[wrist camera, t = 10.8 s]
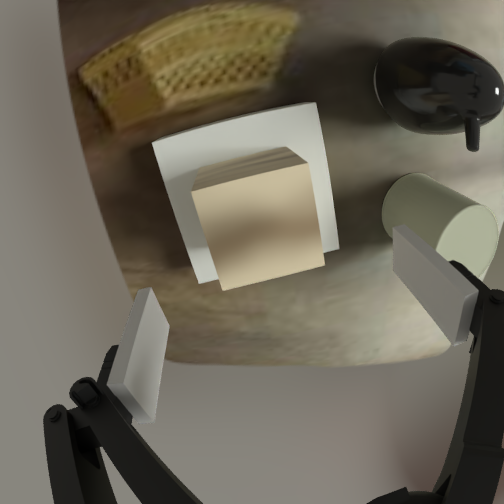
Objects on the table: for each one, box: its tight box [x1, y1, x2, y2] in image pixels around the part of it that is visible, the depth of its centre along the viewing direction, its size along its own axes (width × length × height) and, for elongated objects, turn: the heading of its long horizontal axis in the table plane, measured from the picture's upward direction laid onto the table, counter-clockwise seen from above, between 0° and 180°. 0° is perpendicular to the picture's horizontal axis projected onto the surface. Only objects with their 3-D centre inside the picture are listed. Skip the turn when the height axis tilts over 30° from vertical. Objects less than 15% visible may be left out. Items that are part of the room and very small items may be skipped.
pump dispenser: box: [374, 37, 504, 152], centre depth 23 cm, size 10×10×15 cm
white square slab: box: [152, 102, 339, 284], centre depth 32 cm, size 15×15×4 cm
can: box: [382, 173, 499, 278], centre depth 31 cm, size 9×9×12 cm
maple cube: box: [191, 146, 325, 291], centre depth 26 cm, size 8×8×8 cm
